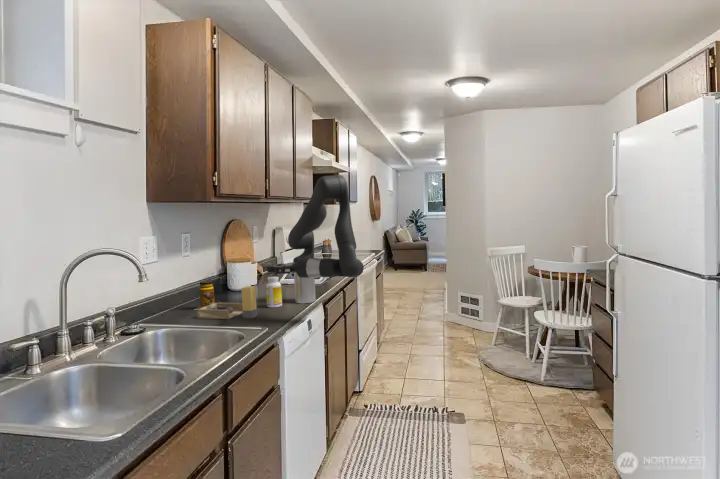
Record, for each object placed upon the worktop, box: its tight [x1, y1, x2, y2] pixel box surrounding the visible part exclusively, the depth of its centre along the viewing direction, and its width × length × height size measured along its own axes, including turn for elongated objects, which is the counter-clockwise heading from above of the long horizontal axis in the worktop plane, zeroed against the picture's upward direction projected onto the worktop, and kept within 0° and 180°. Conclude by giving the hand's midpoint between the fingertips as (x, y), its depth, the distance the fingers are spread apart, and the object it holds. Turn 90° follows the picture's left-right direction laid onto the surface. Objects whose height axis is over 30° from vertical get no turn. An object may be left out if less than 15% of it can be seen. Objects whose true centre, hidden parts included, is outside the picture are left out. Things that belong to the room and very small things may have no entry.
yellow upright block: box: [240, 285, 258, 319], centre depth 193 cm, size 4×4×12 cm
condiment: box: [194, 280, 216, 311], centre depth 213 cm, size 7×8×12 cm
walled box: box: [196, 302, 243, 320], centre depth 199 cm, size 14×14×4 cm
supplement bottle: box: [265, 276, 283, 309], centre depth 212 cm, size 7×7×13 cm
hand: (272, 268), depth 189 cm, fingers open, 8 cm apart
